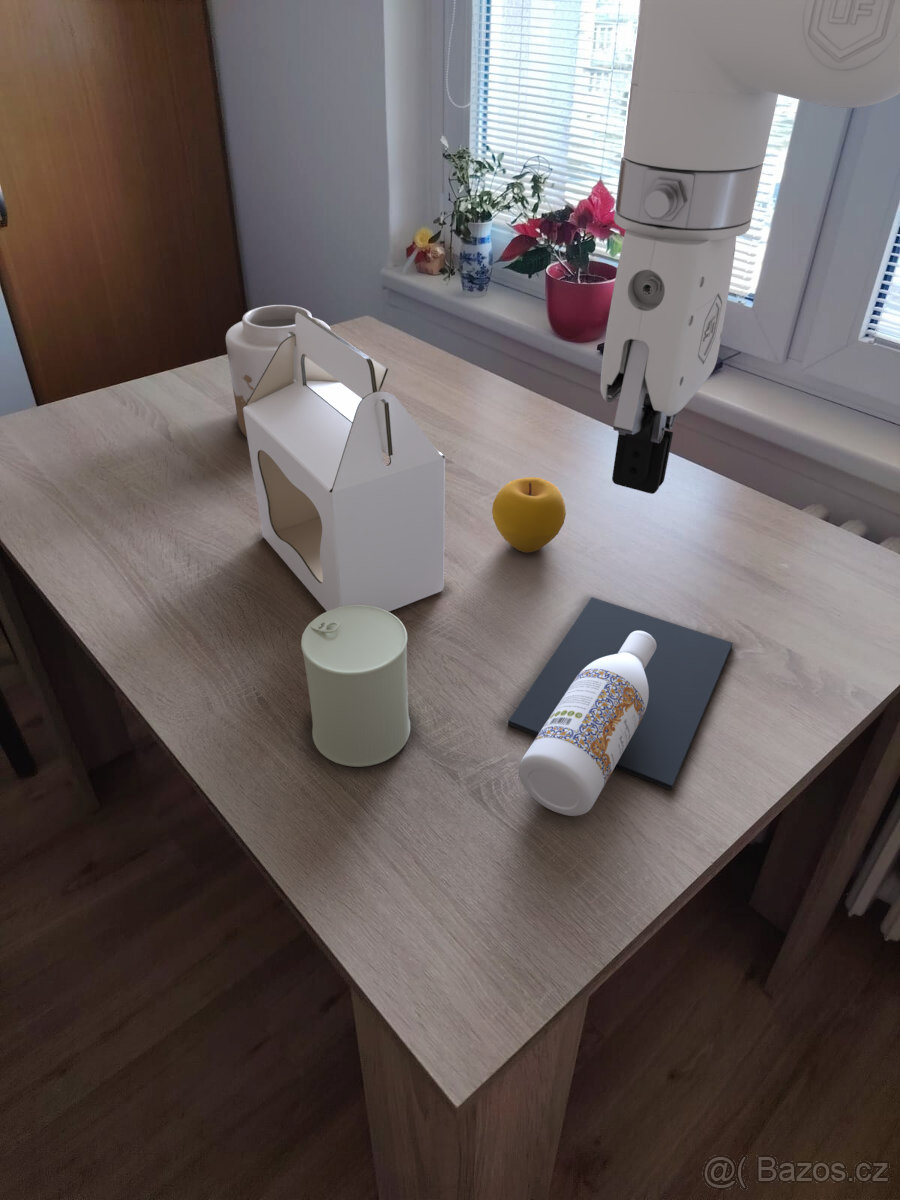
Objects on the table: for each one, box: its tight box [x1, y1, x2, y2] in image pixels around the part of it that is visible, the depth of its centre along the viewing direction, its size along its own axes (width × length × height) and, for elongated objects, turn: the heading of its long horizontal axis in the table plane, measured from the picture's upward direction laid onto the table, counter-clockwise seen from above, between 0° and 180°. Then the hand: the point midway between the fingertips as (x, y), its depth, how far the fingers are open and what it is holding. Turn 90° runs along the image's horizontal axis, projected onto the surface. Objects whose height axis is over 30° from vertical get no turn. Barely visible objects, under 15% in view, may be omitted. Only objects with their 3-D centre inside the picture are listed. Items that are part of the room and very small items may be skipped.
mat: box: [507, 596, 734, 791], centre depth 83 cm, size 22×16×1 cm
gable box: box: [243, 312, 446, 612], centre depth 91 cm, size 22×13×28 cm, turn 33°
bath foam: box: [518, 631, 657, 817], centre depth 75 cm, size 7×7×20 cm
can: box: [300, 605, 411, 768], centre depth 74 cm, size 9×9×12 cm
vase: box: [225, 304, 332, 438], centre depth 123 cm, size 15×15×17 cm
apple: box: [491, 476, 567, 553], centre depth 100 cm, size 9×9×9 cm
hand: (637, 483), depth 57 cm, fingers closed
